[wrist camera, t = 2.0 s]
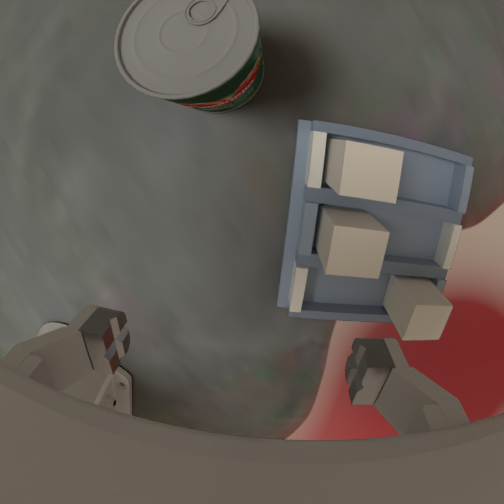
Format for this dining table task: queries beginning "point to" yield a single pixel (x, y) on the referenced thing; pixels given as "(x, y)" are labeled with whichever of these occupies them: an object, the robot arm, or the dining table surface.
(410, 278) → the far tab
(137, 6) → the canned tomato
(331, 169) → the near tab
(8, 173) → the dining table surface
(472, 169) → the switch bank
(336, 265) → the middle tab
